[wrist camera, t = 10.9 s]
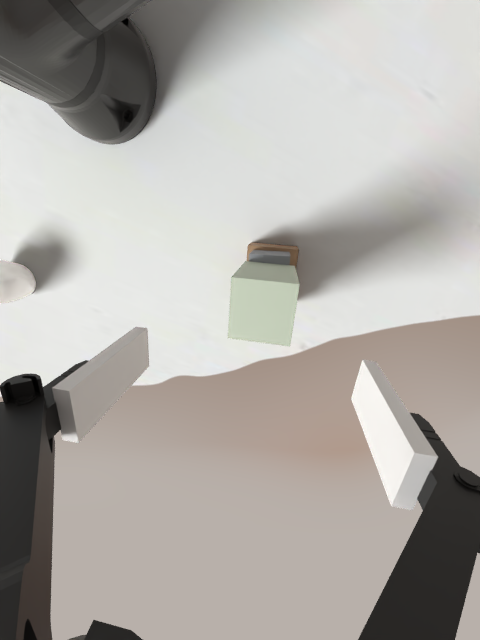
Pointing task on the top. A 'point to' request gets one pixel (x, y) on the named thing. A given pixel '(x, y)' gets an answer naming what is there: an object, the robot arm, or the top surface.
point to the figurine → (15, 281)
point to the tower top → (270, 257)
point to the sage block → (263, 303)
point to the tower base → (274, 247)
